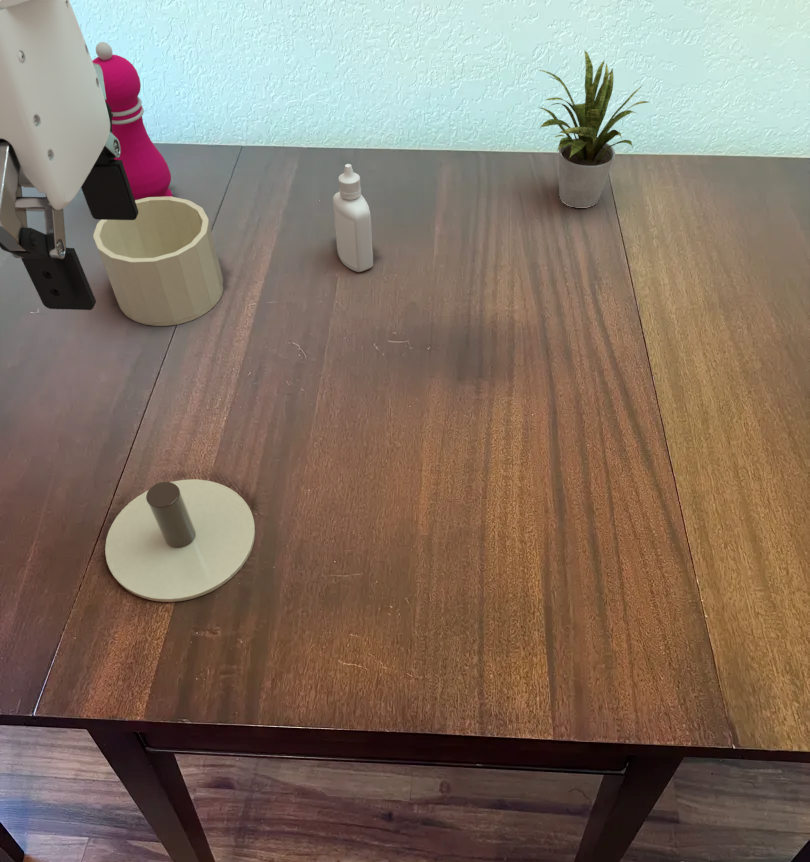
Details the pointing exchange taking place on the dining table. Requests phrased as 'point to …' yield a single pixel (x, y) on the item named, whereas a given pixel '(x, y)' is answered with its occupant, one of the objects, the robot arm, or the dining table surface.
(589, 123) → the house plant
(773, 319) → the dining table surface
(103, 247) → the pot
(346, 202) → the eye dropper bottle
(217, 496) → the lid
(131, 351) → the dining table surface
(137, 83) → the pepper mill
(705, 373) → the dining table surface
